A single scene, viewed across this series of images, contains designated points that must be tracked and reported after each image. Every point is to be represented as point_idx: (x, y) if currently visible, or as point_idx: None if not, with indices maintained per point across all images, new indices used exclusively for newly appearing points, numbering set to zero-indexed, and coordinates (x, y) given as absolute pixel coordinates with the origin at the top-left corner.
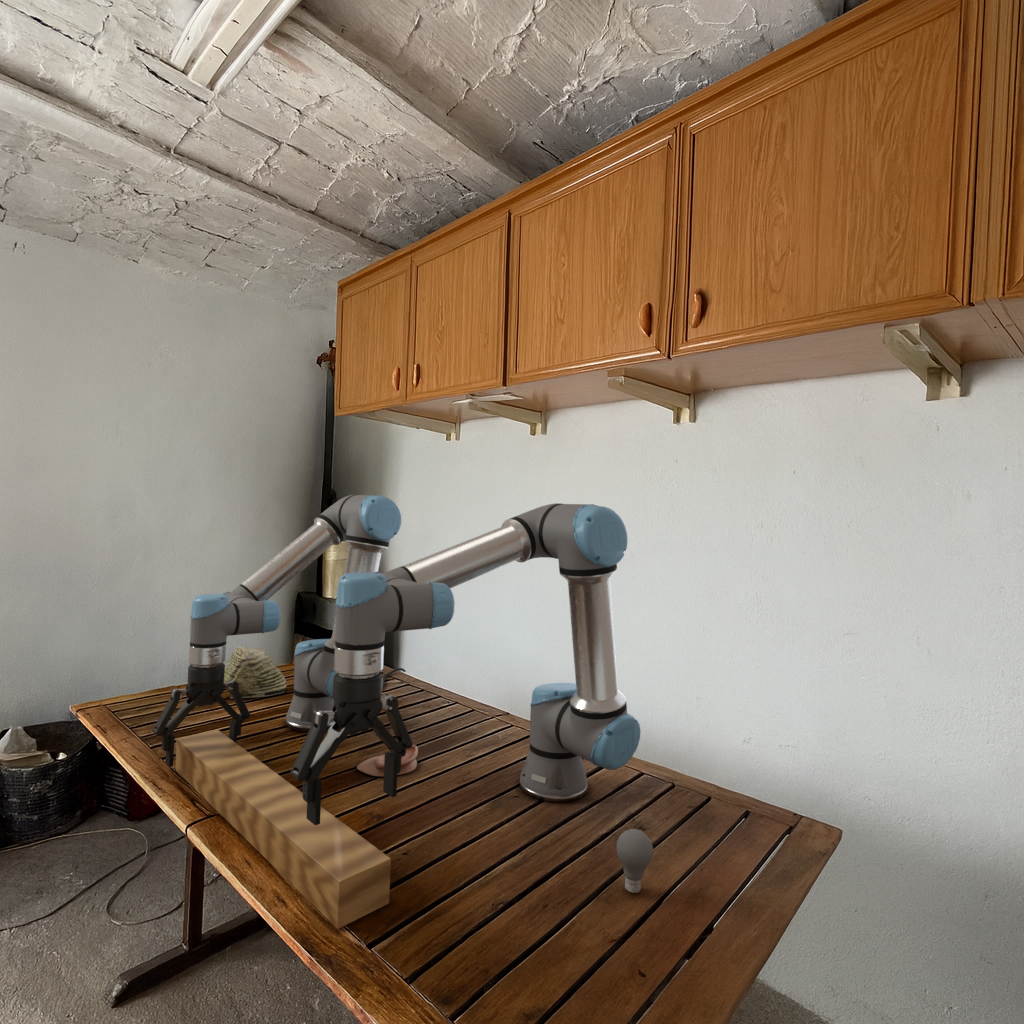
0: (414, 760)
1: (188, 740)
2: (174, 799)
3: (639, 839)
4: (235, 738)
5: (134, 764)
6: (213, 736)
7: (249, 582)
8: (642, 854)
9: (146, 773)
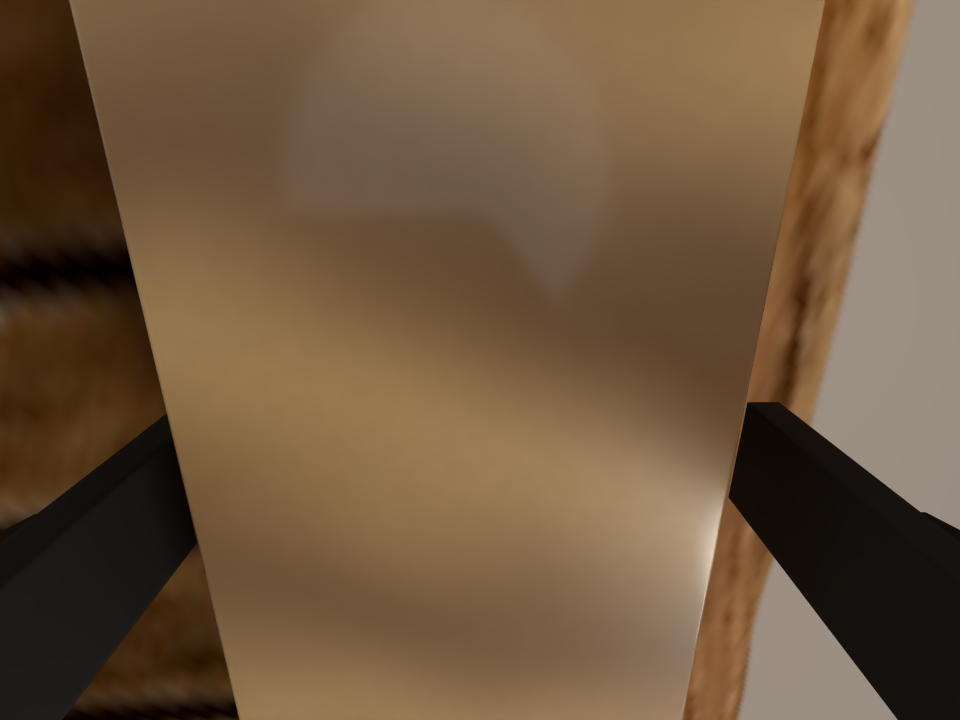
0: None
1: (615, 625)
2: (836, 12)
3: None
4: (106, 474)
5: (728, 690)
6: (339, 588)
7: None
8: None
9: (742, 556)
